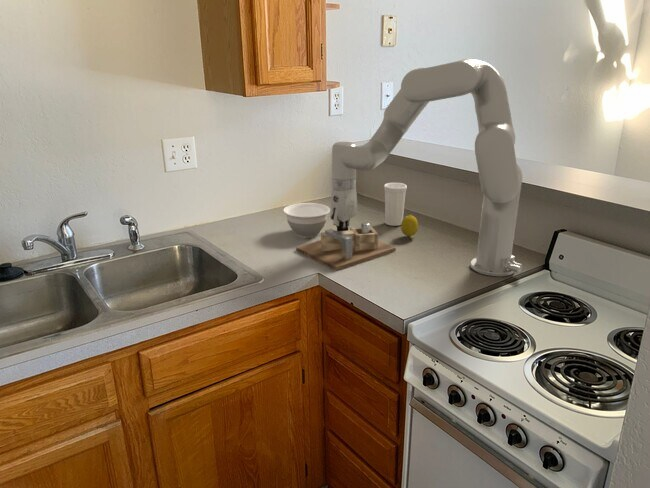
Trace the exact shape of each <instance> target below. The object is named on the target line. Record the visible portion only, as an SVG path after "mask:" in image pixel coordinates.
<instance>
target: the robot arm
mask: <svg viewBox="0 0 650 488" xmlns="http://www.w3.org/2000/svg"><path fill="white" fill-rule="evenodd" d="M400 84H401V85H400V89H399V90H398V92H397V93H396V95H395V96H394V97H393V99H391V101H390V103H389V104H388V105H387V106H386V108H385V109H384V112H383V118H382V119H383V120H382V121H381V124H380V125H379V127H378V129H376V131H375V133H374V134H373V135H372V137H371V138H370V139H369V141H367V142H366V143H364V144H363V145H359V146H357V144H356V143H354V142H352V141H336V142H334V143H333V145H332V147H331V196H330V204H329V205H330V207H329V208H330V212H329V213H330V216H329V217H330V219H331V220H332V225H333V226H335V227H336V231H349V227H350V220H351V219H352V218H354V217H355V216H357V214H358V195H357V171H359V172H360V171H361V172H370V171H373V170H374V169H375V168H377V167H378V166H379V165H381V164H382V163H384V162H385V160H386V159H387V158H388V156H389V155H390V154H391V152H392V151H393V150H394V149H395V147H396V146H397V145H398V144H399V142H400V141H401V139H402V138H403V137H404V135H406V133H407V132H408V130H409V129H410V128H411V126H412V125H413V123H414V122H415V121H416V119H417V118H418V116H419V115H420V114H422V112H423V110H424V109H425V108H426V107H427V105H428V104H429V103H430V102H435V101H439V100H441V101H442V100H445V99H452V98H456V97H462V96H465V95H468V94H471V95H472V97H473V100H474V101H473V102H474V109H475V114H476V119H477V120H476V121H477V128H478V133H477V135H476V137H475V140H474V154H475V160H476V166H477V170H478V179H479V183H480V189H481V191H482V194H483V197H482V203H481V204H482V205H481V213H480V214H481V215H480V223H479V231H478V232H479V233H478V241H477V249H476V250H477V253H476V257H474V258H473V259H471V261H470V264H469V266H470V268H471V269H472V270H473V271H474V272H477V273H479V274H480V275H485V276H491V277H508V276H510V275H513V274H514V273H517V274H520V273H521V272H522V269H523V264H522V263H519V262H516V261H515V258H516V256H515V255H513V249H514V240H515V232H516V231H515V230H516V225H517V219H518V211H519V202H520V197H521V190H522V183H523V172H522V170H521V167H520V166H519V165H518V163H517V157H516V152H515V150H516V149H515V144H516V135H515V134H516V133H515V131H514V130H515V129H514V125H513V119H512V113H511V108H510V104H509V97H508V92H507V88H506V84H505V81H504V79H503V77H502V75H501V73H499V71H498V70H497V68H495V67H494V66H492V65H491V64H489V63H488V62H486V61H482V60H480V59H474V58H463V59H461V60H460V59H459V60H456V61H452V62H448V63H443V64H439V65H434V66H428V67H420V68H415V69H412V70H410V71H408V72H407V73H406V74H405V75H404V76H403V78H402V80H401V83H400Z"/></svg>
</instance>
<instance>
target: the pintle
mask: <svg viewBox="0 0 650 488" xmlns="http://www.w3.org/2000/svg"><path fill="white" fill-rule="evenodd" d="M360 225H361V226H360V227H361V234H367V233H370V227H371V223H370V222H364V221H363V222H361V224H360Z"/></svg>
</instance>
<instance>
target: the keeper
mask: <svg viewBox="0 0 650 488" xmlns="http://www.w3.org/2000/svg"><path fill="white" fill-rule="evenodd" d="M324 232H325V234H326V235H328V236H330V237H333V238H335V239H337V240H340V241H342V259H344V260H349V259H352V242H353V238H352V237H350V236H347V235H345V234H342V233H340V232H338V231H337V230H335V229H332V228H329V229H325V230H324Z"/></svg>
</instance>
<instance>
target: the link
mask: <svg viewBox="0 0 650 488" xmlns="http://www.w3.org/2000/svg"><path fill="white" fill-rule="evenodd" d="M338 232H340V233H342V234H345V235H347V236H350V237H352V238H353V242H352V249H355V250H356V251H359V250H371V249H378V241H379V233H378V232H377V231H376V230H375V229H374V228H373V227H372V226H370V233H367V234H361V226H360V227H351V228H350V230H349V229H348V231H338ZM320 240H321V249H322V250H323V251H331V250H342V241H340V240H337V239H335V238H333V237H330V236H328V235H326V234H325V231H324V232H320Z"/></svg>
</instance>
